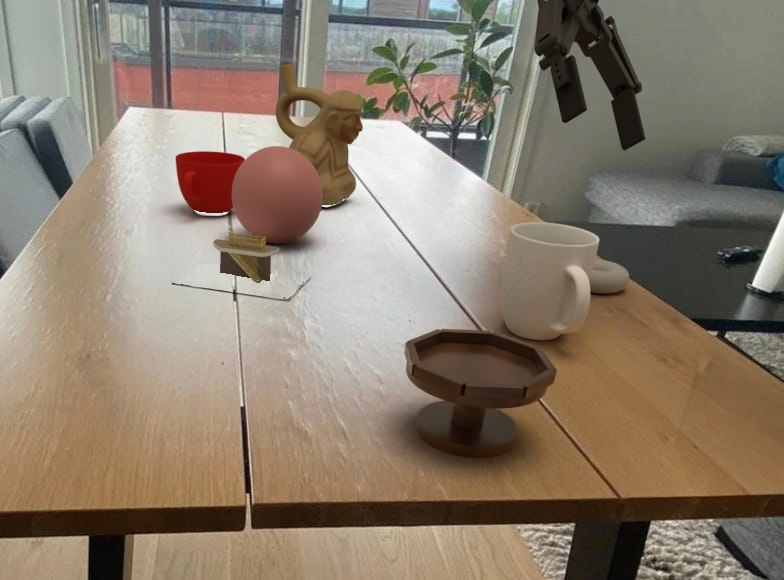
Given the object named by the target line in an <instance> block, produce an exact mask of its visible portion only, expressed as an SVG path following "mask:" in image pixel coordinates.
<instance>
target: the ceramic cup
mask: <svg viewBox="0 0 784 580" xmlns="http://www.w3.org/2000/svg"><path fill="white" fill-rule="evenodd" d="M245 159H246V158H245V157H244V156H243V155H239V154H235V153H230V152H224V151H223V152H222V151H213V150H212V151H206V150H205V151H204V150H203V151H202V150H201V151H198V150H197V151H187V152H182V153H178V154H176V156H175V168H176V177H177V183H178V187H179V191H180V193H181V195H182V198H183V200H184V202H186V204H187V205H188V206H189V208H190V209H191V210H192V209H193V210H196V211H199V212H206V213H223V212H228V211H229V212H231V210H232V209H234V208H233V204H232V185H233V180H234V177H235V175H236V172H237V170H238V169H239V167H240V166H241V164H242V163H243V162H244V161H245ZM193 210H192V211H193Z"/></svg>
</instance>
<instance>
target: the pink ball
mask: <svg viewBox="0 0 784 580" xmlns="http://www.w3.org/2000/svg"><path fill="white" fill-rule="evenodd" d="M322 202H323V189H322V183H321V180H320V177H319V175H318V172H317V170H316V169H315V167H314V166H313V164H312V163H311V162H310V161H309V160H308V159H307V158H306V157H305V156H304V155H302V154H301V153H299V152H298V151H296V150H293V149H291V148H289V147H286V146H282V145H273V146H266V147H263V148H260V149H258V150H256V151H254V152H253V153H251V154H250V155H249V156H247V157H246V158H245V161H244V162H243V163H242V164H241V166H240V167H239V169H238V170H237V172H236V175H235V177H234V180H233V185H232V204H233V208H232V209H233V211H234V214H235V216H236V218H237V220H238V222H239V223H240V225H241V226H242V228H244V230H245V231H247V233H249V235H252V236H254V238H255V239H257V237H255V236H260V237H259V241H260V240H262V237H266V243H269V242H270V244H287V243H290V242H293V241H296V240H298V239H300V238H301V237H303V236H304V235H305V234H307V232H309V231H310V230H311V229H312V228H313V226H314V225H315V223H316V222H317V220H318V218H319V216H320V214H321V211H322V208H321V207H322Z"/></svg>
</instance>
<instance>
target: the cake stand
mask: <svg viewBox="0 0 784 580" xmlns="http://www.w3.org/2000/svg"><path fill="white" fill-rule="evenodd" d="M403 353H404V354H403V355H404V357H405V361H406V364H405V374H406V375H407V378H408V380H409V381H410V383H412V384H413V385H414V386H415V387H417V388H418V390H421V391H422V392H424V393H426V394H428V395H430V396H433V397H434V398H436V399H439V401H435V402H431V403H428V404H426V405H425V406H423V407H422V408H421V409H419V411H418V414H417V417H416V425H415V430H416V432H417V435H418V436H419V438H421V440H422V441H424V442H425V443H426V444H428V445H429V446H430V447H433V448H434V449H436V450H439V451H441V452H444V453H447V454H451V455H454V456H459V457H466V458H490V457H496V456H501V455H503V454H505V453H507V452H509V451H510V450H511V449H512V448H513V447H514V445H515V443H516V439H517V435H518V426H517V424H516V422H515V421H514V419H512V418H511V417H510V416H509V415H508V414H507V413H505V412H504V411H501V409H503V410H505V409H514V408H521V407H526V406H529V405H532V404H535V403H536V402H538V401H539V400H541V399H542V398H543V397H544V396H545V395H546V393H547V391H548V387H550V386H552V385H553V384H555V380H556V376H557V371H558V370H557V368H556V367H555V365H554V364H553V362H552V361H551V359H550V358H549V357H548V356H547V353H546V352H545V351H544V349H543V348H540V346H538V345H535V344H532V343H530V342H526V341H523V340H520V339H517V338H515V337H512V336H509V335H506V334H503V333H501V332H497V331H493V332H492V331H491V330H483V329H482V330H480V329H479V330H478V329H456V328H455V329H454V328H441V329H438V328H437V329H433V330H432V331H429V332H426V333H424V334H421V335H419V336H416V337H413V338H411V339H408V340H406V342H405V345H404V351H403Z"/></svg>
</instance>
